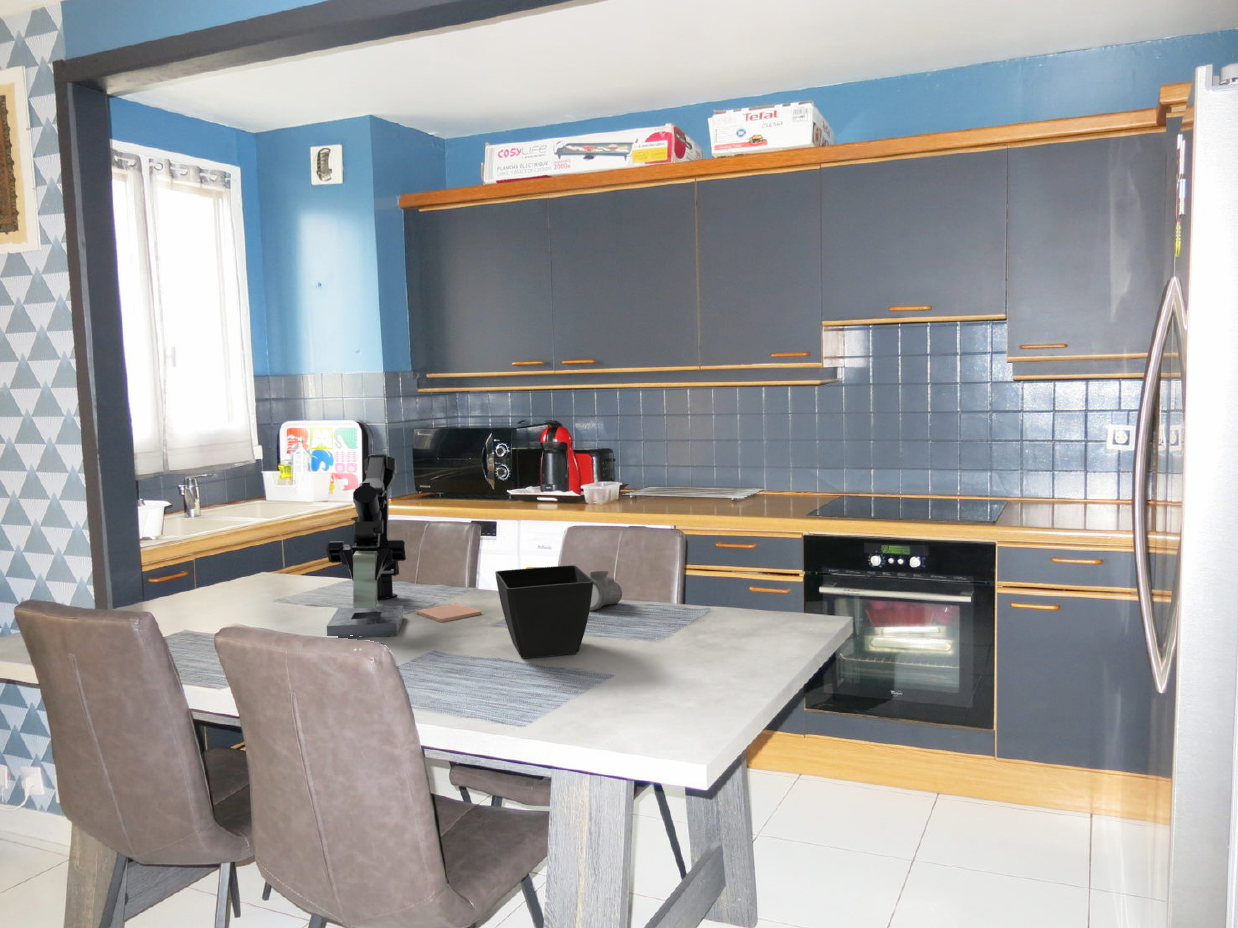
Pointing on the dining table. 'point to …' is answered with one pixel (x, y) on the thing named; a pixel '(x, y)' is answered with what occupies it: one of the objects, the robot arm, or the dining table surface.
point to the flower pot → (545, 608)
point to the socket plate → (366, 622)
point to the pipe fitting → (604, 590)
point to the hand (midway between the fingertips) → (364, 579)
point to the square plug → (364, 579)
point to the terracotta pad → (448, 612)
